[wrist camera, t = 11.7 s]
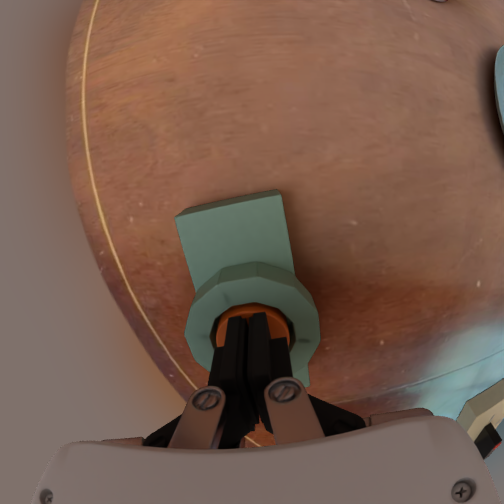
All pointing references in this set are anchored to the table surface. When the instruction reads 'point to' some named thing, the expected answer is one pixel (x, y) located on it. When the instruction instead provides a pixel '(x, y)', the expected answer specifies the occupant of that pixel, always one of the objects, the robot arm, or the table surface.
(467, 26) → the table surface
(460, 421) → the panel
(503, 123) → the saucer
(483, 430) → the knob
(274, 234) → the block
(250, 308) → the button
